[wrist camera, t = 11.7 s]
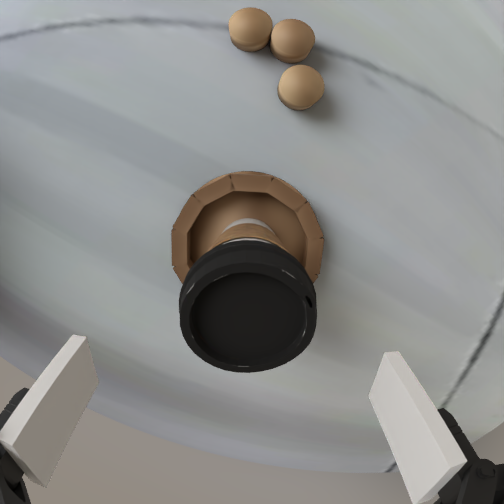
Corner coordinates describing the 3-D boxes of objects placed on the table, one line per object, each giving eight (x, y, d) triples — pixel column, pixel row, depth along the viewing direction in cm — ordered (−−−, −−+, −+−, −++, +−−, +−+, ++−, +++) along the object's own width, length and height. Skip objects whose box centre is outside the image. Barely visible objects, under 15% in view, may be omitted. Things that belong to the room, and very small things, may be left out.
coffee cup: (302, 265, 31) (341, 352, 17) (229, 297, 32) (216, 397, 18) (269, 191, 29) (289, 226, 15) (191, 227, 30) (143, 292, 16)
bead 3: (276, 108, 27) (279, 103, 24) (278, 71, 26) (281, 62, 23) (316, 112, 27) (323, 107, 24) (318, 75, 26) (324, 67, 23)
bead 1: (230, 52, 25) (228, 42, 22) (230, 20, 24) (228, 8, 21) (270, 52, 25) (272, 41, 22) (270, 20, 24) (271, 8, 21)
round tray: (176, 305, 33) (172, 315, 31) (176, 168, 29) (169, 169, 26) (309, 313, 34) (313, 323, 31) (327, 177, 29) (333, 179, 27)
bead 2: (269, 62, 26) (270, 52, 23) (270, 29, 24) (272, 17, 21) (309, 65, 26) (314, 56, 23) (309, 32, 24) (314, 21, 22)
